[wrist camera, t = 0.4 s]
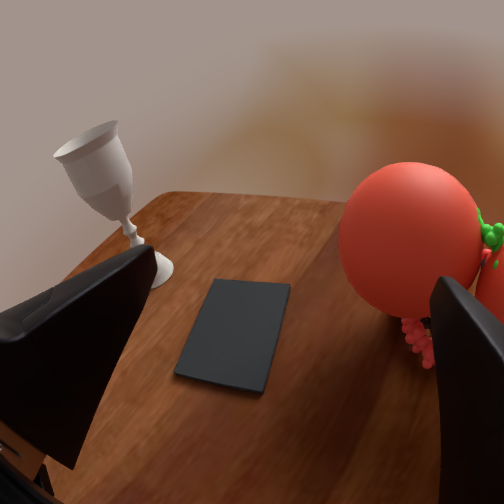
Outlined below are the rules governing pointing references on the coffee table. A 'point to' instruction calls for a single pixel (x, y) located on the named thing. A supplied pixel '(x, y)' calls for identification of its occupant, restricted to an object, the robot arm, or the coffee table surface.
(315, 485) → the coffee table surface
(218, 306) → the mat
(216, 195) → the coffee table surface
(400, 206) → the molecule
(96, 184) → the chalice
